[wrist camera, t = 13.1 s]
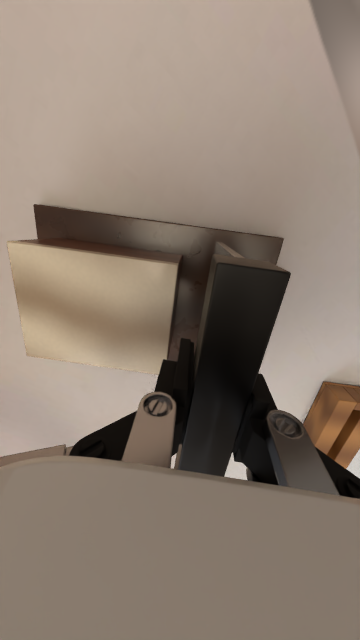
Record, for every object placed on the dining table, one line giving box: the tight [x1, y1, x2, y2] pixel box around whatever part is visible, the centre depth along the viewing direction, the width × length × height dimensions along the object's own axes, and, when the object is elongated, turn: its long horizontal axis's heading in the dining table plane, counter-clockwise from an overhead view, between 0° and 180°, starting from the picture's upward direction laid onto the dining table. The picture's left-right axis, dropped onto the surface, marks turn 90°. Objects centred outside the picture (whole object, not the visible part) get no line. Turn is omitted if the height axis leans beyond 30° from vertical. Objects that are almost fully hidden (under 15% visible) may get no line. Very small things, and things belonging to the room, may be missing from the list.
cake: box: [7, 204, 284, 375], centre depth 19 cm, size 14×22×7 cm, turn 83°
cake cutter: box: [174, 242, 291, 477], centre depth 13 cm, size 12×2×10 cm, turn 173°
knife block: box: [303, 382, 360, 469], centre depth 27 cm, size 15×5×3 cm, turn 173°
